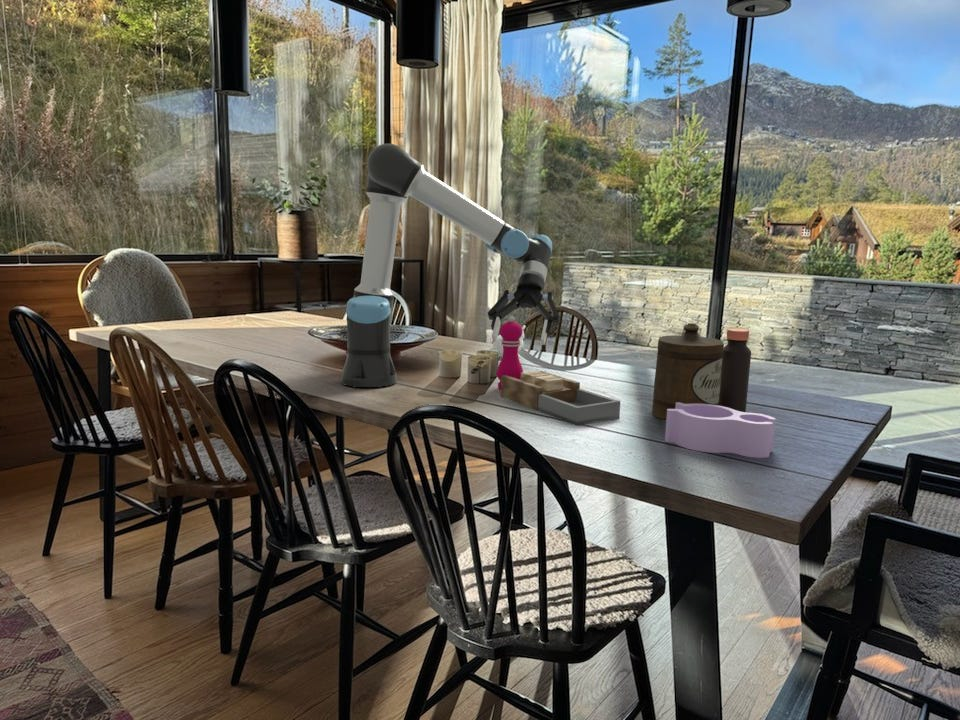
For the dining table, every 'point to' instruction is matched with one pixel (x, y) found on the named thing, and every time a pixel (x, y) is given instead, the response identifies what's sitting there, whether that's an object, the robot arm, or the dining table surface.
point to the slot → (536, 391)
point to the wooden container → (687, 370)
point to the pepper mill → (510, 350)
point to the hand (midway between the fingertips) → (518, 340)
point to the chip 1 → (531, 376)
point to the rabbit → (499, 347)
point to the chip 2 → (549, 382)
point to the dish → (581, 408)
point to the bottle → (735, 370)
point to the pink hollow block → (720, 430)
